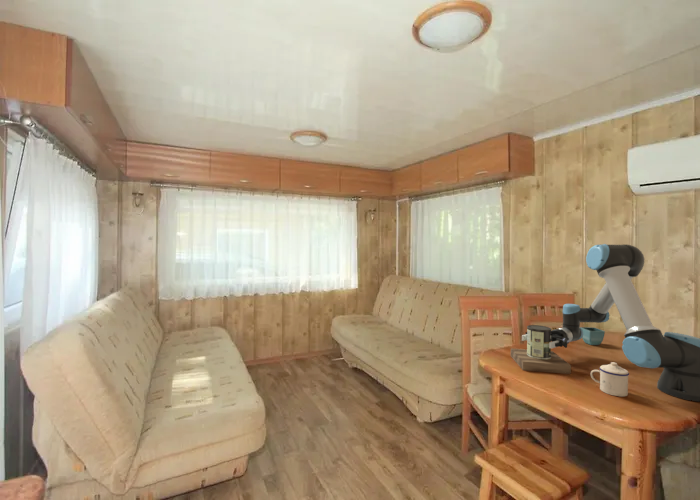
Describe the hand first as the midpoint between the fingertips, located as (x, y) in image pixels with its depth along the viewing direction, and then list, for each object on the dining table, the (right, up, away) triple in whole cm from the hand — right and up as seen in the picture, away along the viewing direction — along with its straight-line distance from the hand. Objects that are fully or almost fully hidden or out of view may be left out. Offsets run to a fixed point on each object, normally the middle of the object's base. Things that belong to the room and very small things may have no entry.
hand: (535, 341), depth 158 cm
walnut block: (+2, -11, +1) cm, 12 cm away
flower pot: (+54, -12, +36) cm, 66 cm away
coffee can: (+2, -8, +1) cm, 8 cm away
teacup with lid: (+13, -12, -28) cm, 33 cm away
